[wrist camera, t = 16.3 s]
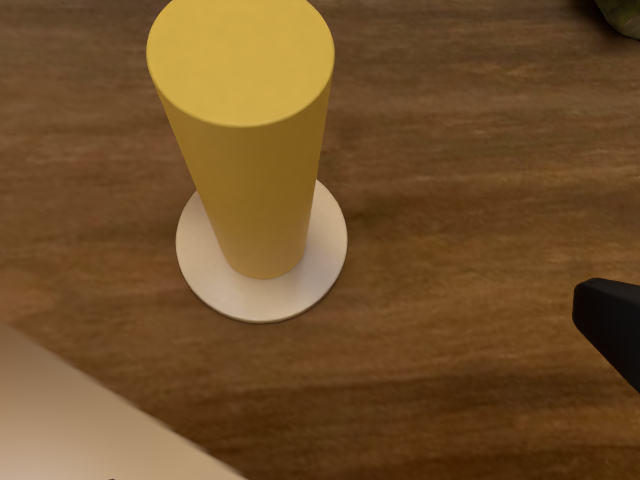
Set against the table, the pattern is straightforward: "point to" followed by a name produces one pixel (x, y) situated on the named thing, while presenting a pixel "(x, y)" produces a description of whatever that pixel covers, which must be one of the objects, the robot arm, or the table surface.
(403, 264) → the table surface
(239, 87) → the yellow cylinder
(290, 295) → the disc
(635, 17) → the fruit
